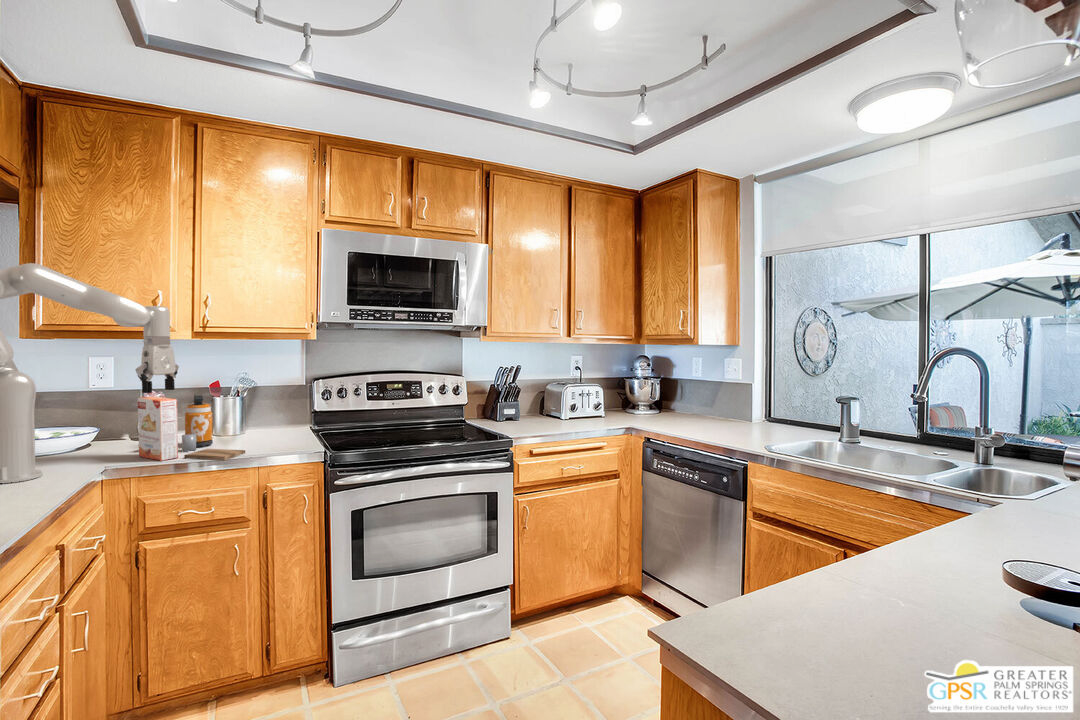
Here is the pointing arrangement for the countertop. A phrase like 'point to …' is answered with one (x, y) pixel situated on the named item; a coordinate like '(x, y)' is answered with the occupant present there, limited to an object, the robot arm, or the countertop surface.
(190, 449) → the slate cylinder
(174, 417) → the cracker box
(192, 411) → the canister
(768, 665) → the countertop surface
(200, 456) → the cutting board
